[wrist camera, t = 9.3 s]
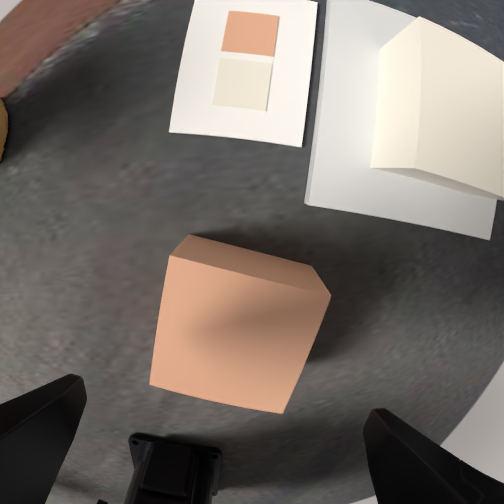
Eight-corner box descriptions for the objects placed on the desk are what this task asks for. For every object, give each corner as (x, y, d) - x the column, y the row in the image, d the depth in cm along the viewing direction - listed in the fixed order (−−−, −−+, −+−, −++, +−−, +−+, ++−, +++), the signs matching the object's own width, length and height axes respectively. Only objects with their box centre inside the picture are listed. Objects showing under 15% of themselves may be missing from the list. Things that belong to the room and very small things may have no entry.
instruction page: (300, 147, 13) (301, 146, 13) (169, 132, 13) (168, 131, 13) (316, 3, 12) (317, 2, 11) (198, -9, 11) (197, -11, 11)
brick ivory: (468, 194, 13) (520, 204, 9) (370, 167, 13) (414, 167, 9) (474, 88, 12) (523, 75, 8) (380, 48, 11) (419, 16, 7)
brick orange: (275, 365, 16) (282, 413, 13) (168, 340, 16) (149, 384, 12) (310, 264, 15) (331, 295, 11) (189, 233, 15) (169, 255, 11)
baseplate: (479, 236, 15) (489, 240, 14) (304, 202, 14) (308, 204, 13) (490, 65, 12) (500, 62, 11) (326, -1, 11) (331, -10, 10)
